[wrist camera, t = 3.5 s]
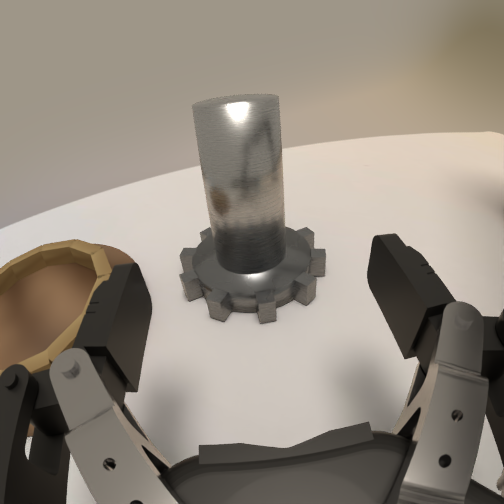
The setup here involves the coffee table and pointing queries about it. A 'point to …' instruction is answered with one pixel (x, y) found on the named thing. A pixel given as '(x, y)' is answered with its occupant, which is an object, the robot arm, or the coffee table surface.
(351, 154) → the coffee table surface
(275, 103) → the gear
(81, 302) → the carrier disc
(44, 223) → the coffee table surface
